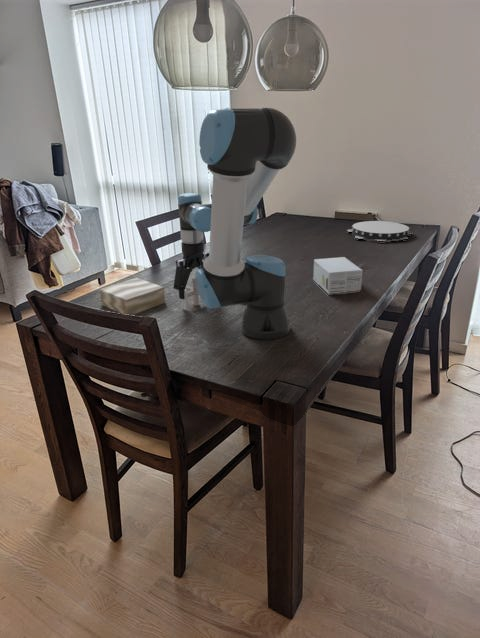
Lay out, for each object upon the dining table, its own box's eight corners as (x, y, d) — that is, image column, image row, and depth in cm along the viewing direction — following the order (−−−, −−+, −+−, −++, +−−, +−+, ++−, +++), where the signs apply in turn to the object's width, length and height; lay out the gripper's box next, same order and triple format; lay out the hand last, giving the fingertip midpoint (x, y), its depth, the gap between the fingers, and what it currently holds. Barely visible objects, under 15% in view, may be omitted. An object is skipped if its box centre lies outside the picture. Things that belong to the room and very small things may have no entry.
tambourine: (370, 226, 273) (371, 217, 271) (424, 235, 251) (425, 226, 249) (335, 236, 252) (335, 227, 250) (390, 248, 230) (391, 238, 228)
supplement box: (312, 281, 187) (313, 259, 183) (343, 279, 189) (345, 256, 186) (327, 296, 172) (329, 272, 168) (361, 293, 174) (363, 269, 170)
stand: (165, 302, 169) (163, 287, 167) (128, 316, 159) (125, 299, 156) (138, 292, 179) (136, 277, 177) (101, 304, 169) (99, 289, 166)
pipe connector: (196, 297, 173) (194, 271, 169) (216, 303, 167) (215, 276, 163) (176, 305, 166) (174, 278, 162) (196, 312, 160) (194, 284, 156)
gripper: (208, 233, 167) (211, 291, 176) (158, 246, 152) (164, 309, 161) (224, 236, 163) (226, 296, 172) (173, 249, 148) (178, 314, 157)
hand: (196, 302), depth 166 cm, fingers closed on pipe connector, 10 cm apart
